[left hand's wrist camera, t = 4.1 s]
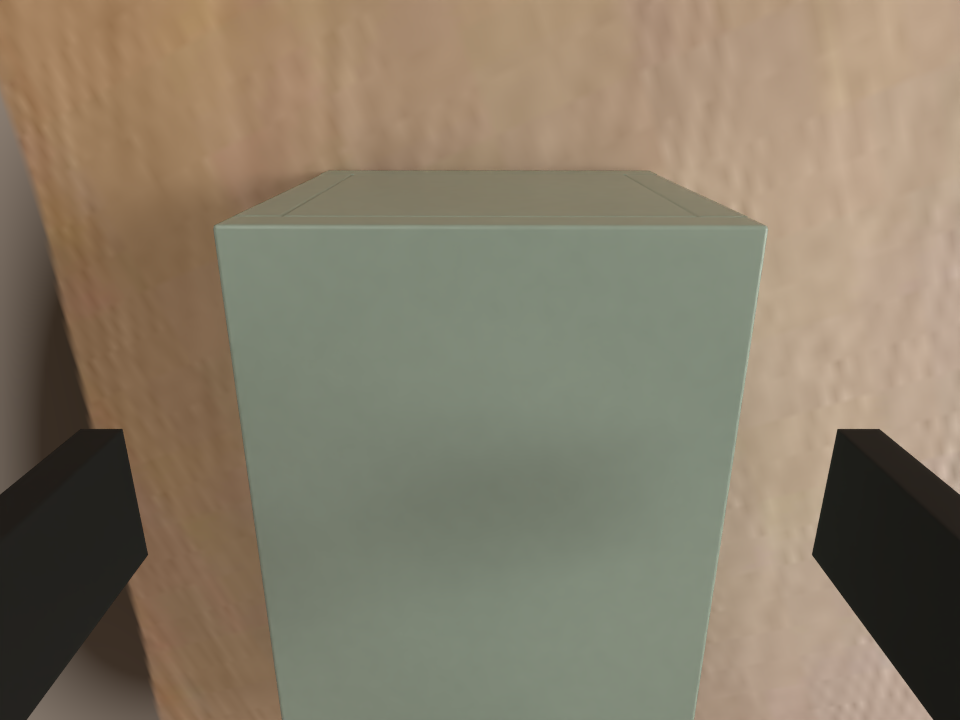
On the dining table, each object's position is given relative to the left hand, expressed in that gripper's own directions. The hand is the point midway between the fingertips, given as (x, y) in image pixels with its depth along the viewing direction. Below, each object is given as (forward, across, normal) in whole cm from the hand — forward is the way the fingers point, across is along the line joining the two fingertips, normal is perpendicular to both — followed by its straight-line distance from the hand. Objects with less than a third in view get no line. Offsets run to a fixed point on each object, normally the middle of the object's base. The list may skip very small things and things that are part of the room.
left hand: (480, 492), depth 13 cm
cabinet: (+12, 0, -6) cm, 13 cm away
